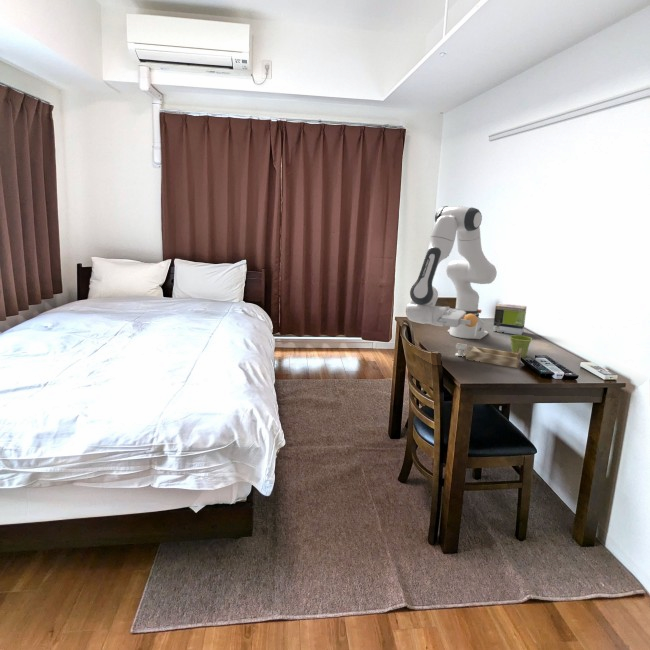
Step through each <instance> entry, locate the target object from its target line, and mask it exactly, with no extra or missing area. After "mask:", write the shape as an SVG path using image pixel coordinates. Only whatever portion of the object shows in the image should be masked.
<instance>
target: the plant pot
mask: <svg viewBox="0 0 650 650" xmlns="http://www.w3.org/2000/svg"><path fill="white" fill-rule="evenodd" d="M509 338H510V342H511V343H510V344H511V346H510V347H511V351H510V352H513V353H518V352H519V348H522V352H521V358H525V357H526V356H527V354H528V349H529V346H530V344H531V341H532V340H533V338H532V337H530V336H526V335H517V334H511V335H510V336H509Z"/></svg>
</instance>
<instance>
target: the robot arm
mask: <svg viewBox="0 0 650 650" xmlns="http://www.w3.org/2000/svg"><path fill="white" fill-rule="evenodd" d="M482 220H483V216H482V213H481V211H480V210H479V209H478V208H476V207H472V206H471V207H469V206H463V205H458V206H456V205H455V206H449V205H445V206H441V207H439V208H438V209H437V210H436V212H435V215H434V222H435V223H434V225H433V227H432V231H431V233H430V237H429V240H428V244H427V249H426V254H425V257H424V259H423V263H422V266H421V269H420V272H419V274H418V278H417V280H416V281H415V282H414V284H412V286H411V288H410V291H409V296H410V299H411V300H410V301H409V302H408V304H406V308H405V314H406V317H407V319H408V320H409V321H411V322H412V323H413V322H414V323H418V324H424V325H426V324H427V325H432V326H437V327H449V329H447V332H448V333H449V335H450V336H452V337H456V338H461V339H473V340H475V339H476V340H481V339H482V338H485V337H486V336H487V335H488V334H489V332H488V331H487V330H484V329H485V323H484V321H483V320H482V319H481V318H480V314H481V313H482V309H479V302H480V295H479V293H478V292H477V290H475V289H473V287H472V285H471V283H472V284H476V285H477V284H478V285H479V284H480V285H487V284H488V285H489V284H492V283H493V282H494V281H495V280H496V277H497V267H496V266H495V265H494V264H493V263H491V261H489V260H488V258H487V257H486V256H485V254H484V252H483V249H482V239H481V228H480V226H481V224H482ZM455 241H457V242H456V243H457V244H456V245H457V251H458V254H459V255H460V256H461V257H463V258H464V259H453V260H451V261H449V262H448V264H447V265H446V268H445V270H446V271H445V272H446V277H448V278H449V280H451V282H452V284H453V285H454V288H455V291H456V301H455V307H454V308H451V307H450V306H441V305H436V303H437V301H438V298H439V292H438V289H436V287H435V286H433V281H434V278H435V275H436V271H437V270H438V269H437V268H438V266H439V264H440V263H441V262H442V261H444V260H446V259H447V258H449V256H450V254H451V253H452V250H453V247H454V244H455ZM467 314H474V315H476V317H477V319H478V322H477V324H476V325H475V326H474V327H468V326H466V325H465V324H469V325H470V324H471V320H464V317H465V316H466V315H467Z"/></svg>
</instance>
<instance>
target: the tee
mask: <svg viewBox="0 0 650 650" xmlns="http://www.w3.org/2000/svg"><path fill="white" fill-rule="evenodd" d="M467 347H468V344H466V343H459V342H458V343H456V345H455V349H458V350H457V352H456V353H455V357H458V356H462V357H461V358H464V357H463V356H465V357H466V354H465V353H464V351H465V350H467V349H468V348H467Z"/></svg>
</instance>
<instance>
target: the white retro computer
mask: <svg viewBox="0 0 650 650" xmlns="http://www.w3.org/2000/svg"><path fill="white" fill-rule="evenodd" d="M526 313H527V306H526V305H520V304H519V305H518V304H511V303H502V302H498V303H497V304H496V305H495V311H494V319H493V326H492V327H493V329H492V332H495V331H497V332H498V333H502V332H504V334H511V335H522V334H523V333H524V329H525V321H526ZM497 332H496V333H497ZM522 336H523V335H522Z"/></svg>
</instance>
